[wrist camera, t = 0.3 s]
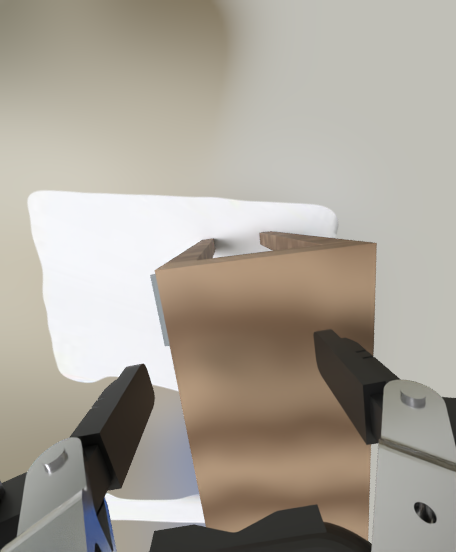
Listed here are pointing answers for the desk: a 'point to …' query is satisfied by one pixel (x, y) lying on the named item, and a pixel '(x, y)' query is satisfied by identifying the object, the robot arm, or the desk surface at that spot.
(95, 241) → the desk surface
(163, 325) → the slate mat
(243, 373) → the walnut shelf
